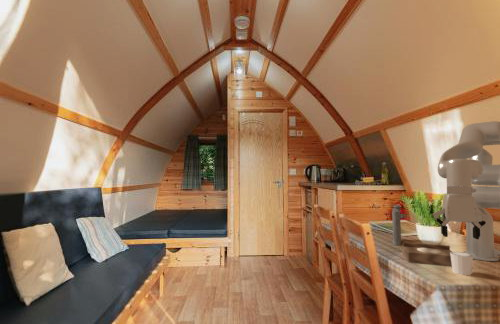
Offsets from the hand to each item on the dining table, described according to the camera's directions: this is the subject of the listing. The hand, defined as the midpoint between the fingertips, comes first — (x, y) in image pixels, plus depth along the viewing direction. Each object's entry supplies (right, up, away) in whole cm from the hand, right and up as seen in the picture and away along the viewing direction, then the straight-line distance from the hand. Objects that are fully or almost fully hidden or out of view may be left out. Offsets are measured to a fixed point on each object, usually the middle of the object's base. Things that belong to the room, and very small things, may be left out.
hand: (460, 237), depth 103 cm
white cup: (0, -13, 0) cm, 13 cm away
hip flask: (+2, -16, +49) cm, 51 cm away
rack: (-2, -14, +15) cm, 21 cm away
